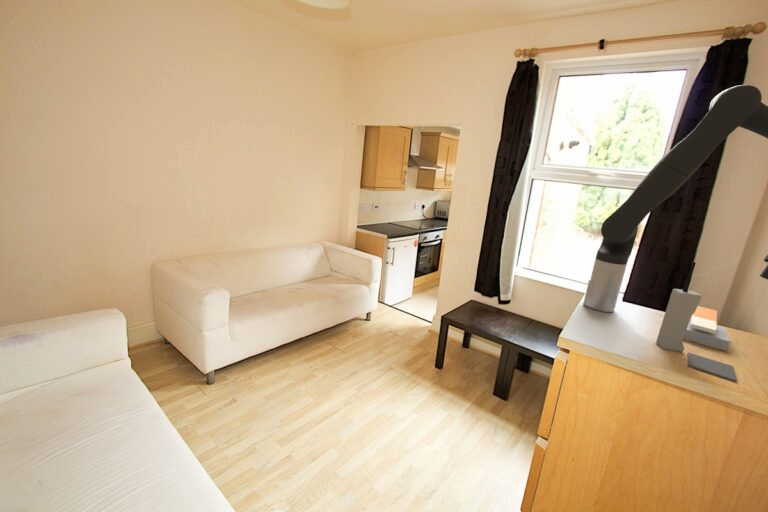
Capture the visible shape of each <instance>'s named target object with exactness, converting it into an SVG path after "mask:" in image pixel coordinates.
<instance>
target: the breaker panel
mask: <svg viewBox="0 0 768 512" xmlns="http://www.w3.org/2000/svg"><path fill="white" fill-rule="evenodd" d="M690 322H691V318H690V321H689V324H688V327H687V330H686V333H685V336H684V339H683V340H687V341H690V342H694V343H697V344H701V345H704V346H708V347H711V348H714V349H717V348H718V350H721V351H723V352H726V351H727V349H728V347H729V344H730V338H729V336H728V332H727V329H726V327H724V326H720V325H716V333H715V334H714V333H710V332H707V331H703V330H699V329H696V328H692V327H690Z"/></svg>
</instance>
